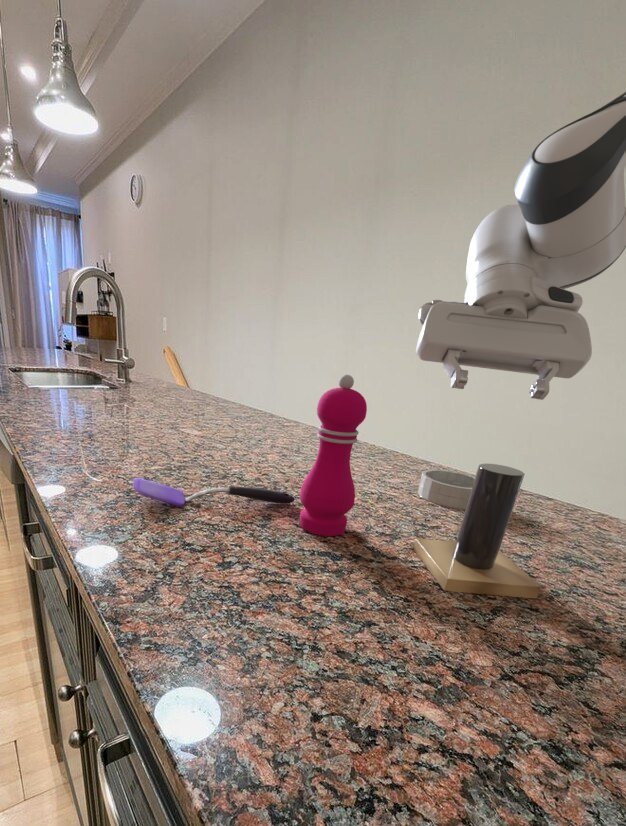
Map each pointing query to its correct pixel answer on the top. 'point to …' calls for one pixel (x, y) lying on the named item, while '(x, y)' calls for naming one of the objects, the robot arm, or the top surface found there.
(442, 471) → the pan
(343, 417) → the pepper mill
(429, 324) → the robot arm
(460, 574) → the board
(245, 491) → the spatula
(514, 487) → the black canister
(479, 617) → the top surface
